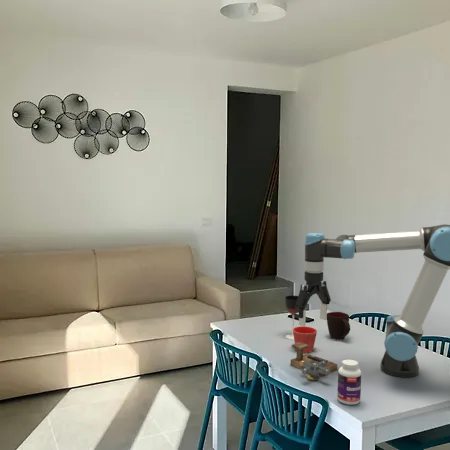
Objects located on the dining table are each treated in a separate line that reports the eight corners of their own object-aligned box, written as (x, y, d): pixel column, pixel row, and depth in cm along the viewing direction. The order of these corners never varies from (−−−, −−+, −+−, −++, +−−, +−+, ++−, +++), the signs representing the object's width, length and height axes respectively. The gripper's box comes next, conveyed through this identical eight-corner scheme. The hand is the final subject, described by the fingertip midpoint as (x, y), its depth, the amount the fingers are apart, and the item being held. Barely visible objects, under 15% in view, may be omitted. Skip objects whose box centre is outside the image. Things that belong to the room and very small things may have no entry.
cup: (339, 334, 259) (340, 311, 258) (356, 342, 246) (357, 318, 245) (323, 336, 255) (323, 313, 254) (339, 345, 242) (339, 320, 241)
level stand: (337, 369, 212) (337, 348, 211) (321, 376, 204) (321, 355, 204) (306, 359, 224) (307, 339, 223) (290, 365, 216) (290, 345, 215)
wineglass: (304, 337, 253) (305, 298, 251) (291, 340, 249) (292, 300, 246) (294, 333, 260) (294, 294, 258) (281, 336, 255) (281, 297, 253)
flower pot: (316, 354, 229) (316, 334, 228) (291, 353, 231) (292, 332, 230) (316, 347, 239) (317, 327, 238) (293, 345, 241) (293, 325, 240)
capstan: (340, 379, 201) (340, 363, 200) (317, 389, 191) (318, 373, 191) (311, 368, 211) (311, 353, 211) (288, 378, 202) (288, 362, 201)
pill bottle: (346, 407, 177) (347, 368, 176) (332, 398, 185) (333, 360, 183) (365, 403, 181) (366, 364, 179) (351, 394, 188) (352, 357, 187)
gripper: (325, 266, 217) (324, 314, 219) (286, 273, 200) (285, 326, 202) (340, 268, 211) (338, 318, 213) (301, 276, 195) (300, 330, 197)
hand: (312, 322), depth 208 cm, fingers open, 13 cm apart
